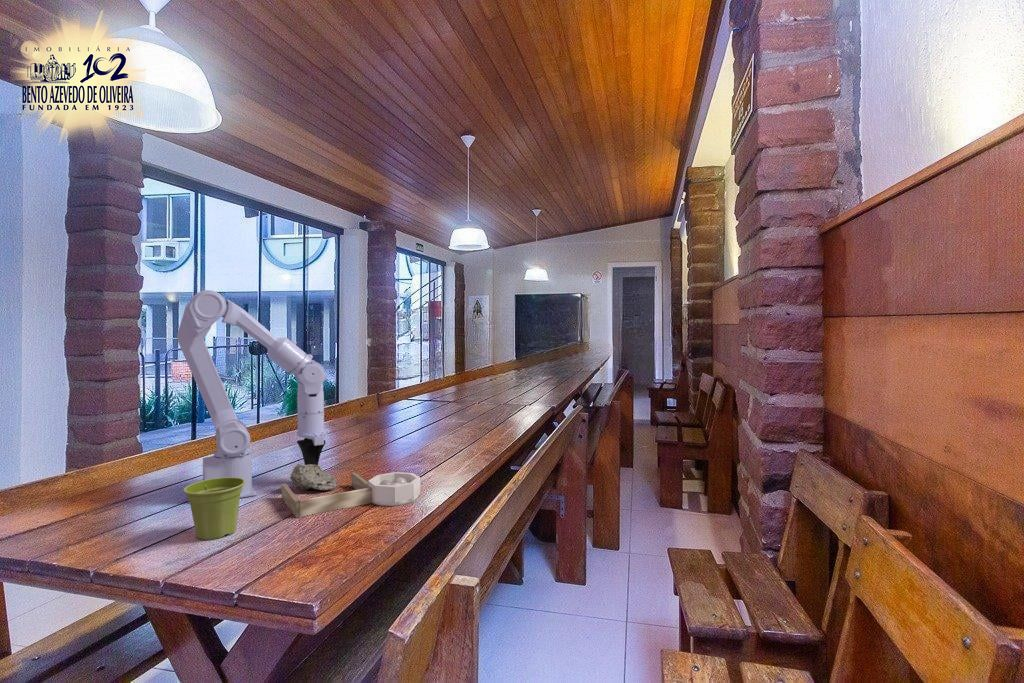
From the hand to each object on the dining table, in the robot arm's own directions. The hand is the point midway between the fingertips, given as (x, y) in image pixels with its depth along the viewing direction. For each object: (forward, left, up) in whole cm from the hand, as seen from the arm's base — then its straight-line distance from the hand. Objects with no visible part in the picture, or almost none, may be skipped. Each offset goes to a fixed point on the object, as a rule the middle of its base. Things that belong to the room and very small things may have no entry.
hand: (311, 470), depth 120 cm
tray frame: (0, -14, -3) cm, 14 cm away
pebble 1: (+10, -20, -1) cm, 23 cm away
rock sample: (0, -5, -3) cm, 6 cm away
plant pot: (-21, -21, -3) cm, 30 cm away
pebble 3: (+14, -20, -1) cm, 24 cm away
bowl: (+12, -21, -3) cm, 24 cm away
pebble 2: (+11, -23, -1) cm, 26 cm away
